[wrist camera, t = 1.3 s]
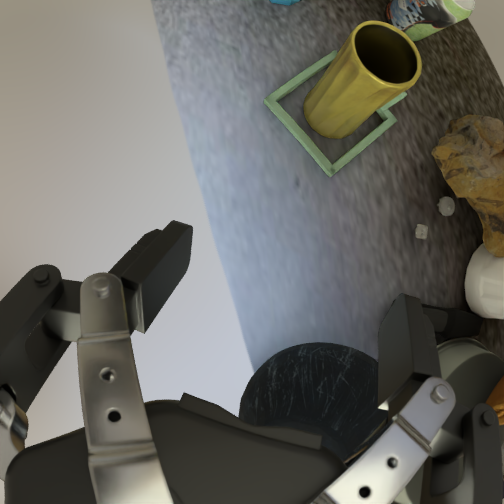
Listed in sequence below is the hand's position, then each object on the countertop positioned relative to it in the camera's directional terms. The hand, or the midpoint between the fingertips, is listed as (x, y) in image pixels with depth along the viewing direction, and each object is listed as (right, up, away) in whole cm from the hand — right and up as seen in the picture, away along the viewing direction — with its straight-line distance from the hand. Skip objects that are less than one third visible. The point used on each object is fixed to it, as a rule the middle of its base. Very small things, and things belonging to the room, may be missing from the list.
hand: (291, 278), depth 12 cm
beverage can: (+18, +29, +17) cm, 38 cm away
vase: (+7, +15, +19) cm, 25 cm away
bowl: (+2, -16, +10) cm, 19 cm away
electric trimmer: (+28, -8, +19) cm, 35 cm away
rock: (+22, +2, +16) cm, 27 cm away
